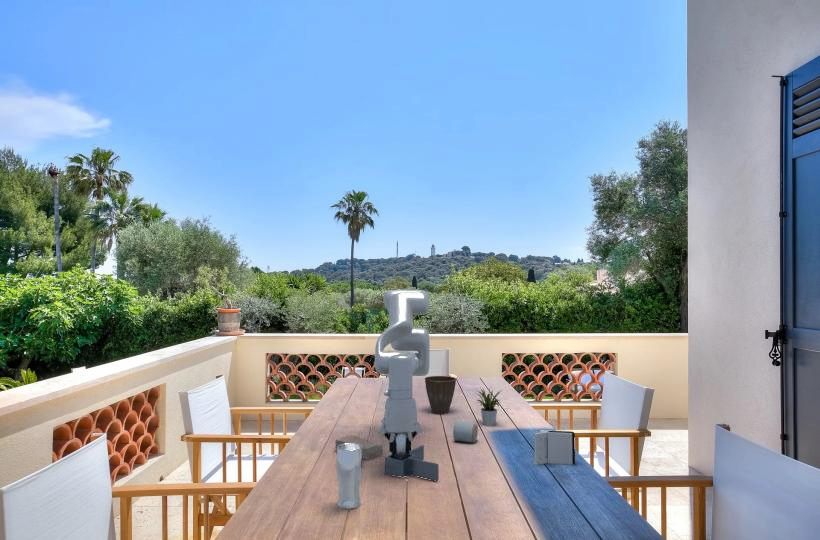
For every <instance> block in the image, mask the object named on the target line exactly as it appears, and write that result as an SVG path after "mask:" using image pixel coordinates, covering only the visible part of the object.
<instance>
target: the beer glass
mask: <svg viewBox="0 0 820 540" xmlns="http://www.w3.org/2000/svg"><path fill="white" fill-rule="evenodd" d="M363 460H364V459H363V455H362V445H360V444H357V443H345V444H341V445H339V446H338V447H337V451H336V458H335V461H336V462H335V463H336V464H335V465H336V475H337V482H338V499H337V506H339V507H338V508H340V507H341V508H340V509H342V508H346V509H345V510H352V509H351V508H354V509H356V507H357V508H359V507H360V506H361V496H360V486H361V480H362V476H363V475H362V474H363V473H362V472H363V467H364V466H363V464H364V461H363ZM358 506H359V507H358Z"/></svg>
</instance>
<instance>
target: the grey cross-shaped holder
mask: <svg viewBox="0 0 820 540" xmlns="http://www.w3.org/2000/svg"><path fill="white" fill-rule="evenodd" d="M423 460H424V461H423ZM439 467H440V466H439V463H436V462H432V461H426V460H425V445H423V444H422V445H419V446H417V447H415V448H413V449H411V451H410V454H407V458H406V459H404V460H400V459H395V458H394V455H392V453H390V454H388V455H386V456H384V474H385V475H388V474H391V475H390V476H392V475H395V476H394V477H396V476H401V477H404V476H406V477H408V476H410V475H413V476H412V477H415V476H419V477H423V478H427V479H431V480H436V481H438V480H439V475H440V474H439ZM419 477H418V478H419ZM423 478H422V479H423ZM427 479H426V480H427ZM431 480H430V481H431ZM436 481H435V482H436ZM439 481H440V480H439ZM439 481H438V482H439Z"/></svg>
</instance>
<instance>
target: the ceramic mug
mask: <svg viewBox="0 0 820 540" xmlns="http://www.w3.org/2000/svg"><path fill="white" fill-rule="evenodd" d="M453 425H454V426H453V429H452V430H453V431H452V432H453V433H452V435H453V440H454V441H455V442H463V443H475V442H476V441H477V439H478V435H479V433H478V432H479V431H478V429H479V428H478V425H477V423H475V422H471V421H466V420H460V419H456V420H455V421H454V424H453Z"/></svg>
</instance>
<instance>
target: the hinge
mask: <svg viewBox="0 0 820 540" xmlns="http://www.w3.org/2000/svg"><path fill="white" fill-rule="evenodd" d="M575 440H576V435H575V432H574V431H572V430H559V429H558V430H555V429H547V430H546V429H540V430H539V432H536V433H535V432H534V434H533V441H534V442H533V443H534V445H533V447H534V451H533V454H534V465H535V466H538V465H543V464H551V465H552V464H553V465H554V464H556V465H568V466H569V465H576V452H575V451H576V441H575Z"/></svg>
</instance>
